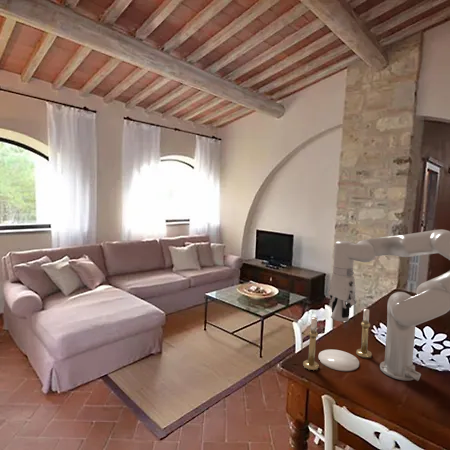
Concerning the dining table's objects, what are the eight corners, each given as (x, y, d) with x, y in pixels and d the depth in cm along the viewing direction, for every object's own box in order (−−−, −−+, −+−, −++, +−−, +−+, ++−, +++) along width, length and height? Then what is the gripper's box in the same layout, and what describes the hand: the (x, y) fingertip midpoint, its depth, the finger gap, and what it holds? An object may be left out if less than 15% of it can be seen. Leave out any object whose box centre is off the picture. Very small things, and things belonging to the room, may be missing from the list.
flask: (350, 323, 126) (352, 298, 125) (331, 321, 127) (333, 297, 126) (347, 316, 133) (348, 293, 132) (329, 314, 134) (330, 291, 133)
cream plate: (368, 366, 127) (368, 364, 127) (336, 374, 121) (336, 372, 121) (339, 348, 142) (339, 347, 142) (310, 354, 136) (310, 353, 136)
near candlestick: (321, 369, 125) (325, 320, 123) (309, 372, 122) (313, 322, 120) (311, 361, 130) (315, 314, 128) (300, 364, 128) (303, 316, 126)
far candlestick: (374, 356, 135) (377, 311, 133) (363, 359, 133) (366, 313, 131) (363, 350, 141) (366, 306, 139) (353, 352, 139) (355, 308, 137)
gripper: (366, 275, 122) (363, 321, 123) (335, 266, 137) (333, 306, 139) (351, 277, 119) (348, 323, 121) (321, 267, 135) (319, 308, 136)
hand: (340, 314), depth 130 cm, fingers closed on flask, 5 cm apart
